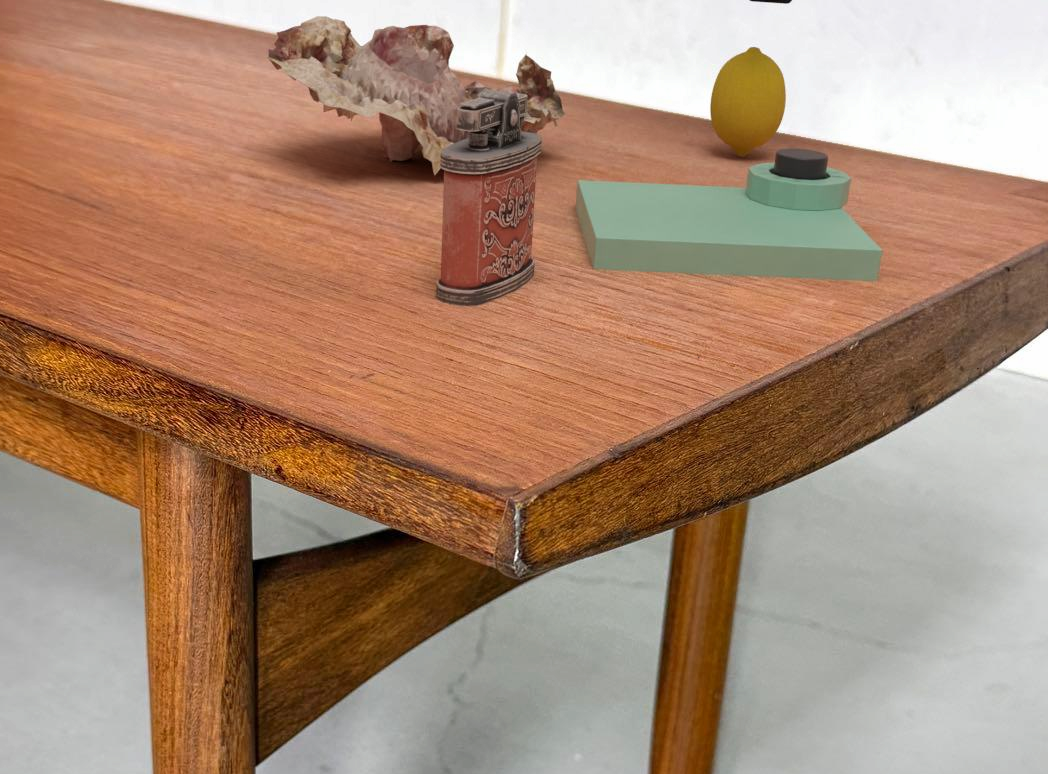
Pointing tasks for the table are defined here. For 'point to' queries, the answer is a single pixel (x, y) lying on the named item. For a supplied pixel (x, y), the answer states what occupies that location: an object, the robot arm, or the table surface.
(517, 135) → the lighter
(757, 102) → the lemon
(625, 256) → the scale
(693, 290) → the table surface
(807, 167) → the power button
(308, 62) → the mineral formation
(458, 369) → the table surface
